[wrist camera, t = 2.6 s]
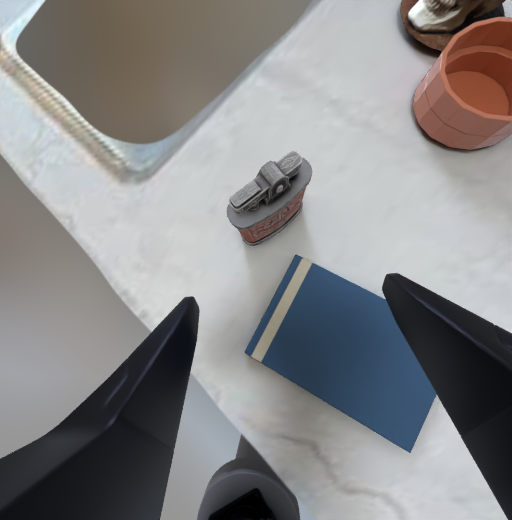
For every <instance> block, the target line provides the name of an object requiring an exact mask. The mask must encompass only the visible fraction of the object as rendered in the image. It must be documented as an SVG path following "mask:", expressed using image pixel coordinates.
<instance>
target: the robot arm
mask: <svg viewBox="0 0 512 520" xmlns="http://www.w3.org/2000/svg"><path fill="white" fill-rule="evenodd" d="M382 290H383V293H384V296H385V298H386V300H387V303H388V305H389V307H390V310H391V312H392V314H393V317H394V319H395V321H396V323H397V325H398V327H399V329H400V330H401V332H402V334H403V336H404V337H405V339H406V341H407V343H408V344H409V346H410V348H411V350H412V351H413V353H414V355H415V357H416V358H417V360H418V362H419V364H420V365H421V367H422V369H423V371H424V372H425V374H426V376H427V378H428V379H429V381H430V383H431V385H432V386H433V388H434V390H435V392H436V394H437V395H438V397H439V399H440V401H441V402H442V404H443V406H444V408H445V409H446V411H447V413H448V415H449V416H450V418H451V420H452V422H453V423H454V425H455V427H456V429H457V430H458V432H459V434H460V435H461V438H462V440H463V441H464V443H465V445H466V447H467V448H468V450H469V452H470V454H471V455H472V457H473V459H474V461H475V462H476V464H477V466H478V468H479V469H480V471H481V473H482V475H483V476H484V478H485V480H486V482H487V483H488V485H489V487H490V489H491V490H492V492H493V494H494V496H495V497H496V499H497V501H498V503H499V505H500V506H501V508H502V510H503V512H504V513H505V515H506V517H507V519H508V520H512V333H510V332H508V331H506V330H504V329H502V328H500V327H498V326H497V325H494V324H493V323H491V322H489V321H487V320H485V319H483V318H481V317H479V316H478V315H476V314H474V313H472V312H470V311H468V310H466V309H464V308H462V307H461V306H459V305H457V304H455V303H453V302H451V301H449V300H447V299H445V298H443V297H442V296H440V295H438V294H436V293H434V292H432V291H430V290H428V289H426V288H425V287H423V286H421V285H419V284H417V283H415V282H413V281H411V280H409V279H408V278H406V277H404V276H402V275H400V274H398V273H391V274H387V275H386V276H385V280H384V283H383V286H382ZM198 322H199V306H198V304H197V302H196V300H195V298H194V297H192V296H191V297H185V298H184V299H183V300H182V301H181V302H180V303H179V304H178V305H177V306H176V307H175V308H174V309H173V310H172V311H171V312H170V313H169V314H168V316H167V317H166V318H165V319H164V320H163V321H162V322H161V323H160V324H159V325H158V326H157V327H156V328H155V329H154V330H153V331H152V333H151V334H150V335H149V336H148V337H147V338H146V339H145V340H144V341H143V342H142V343H141V344H140V345H139V346H138V347H137V348H136V350H135V351H134V352H133V353H132V354H131V355H130V356H129V357H128V359H126V360H125V361H124V362H123V363H122V364H121V366H119V367H118V369H117V370H116V371H115V372H114V373H113V374H112V375H111V376H110V377H109V378H108V379H107V380H106V381H105V382H104V383H103V384H102V385H101V386H99V387H98V388H97V389H96V390H95V391H94V392H93V393H92V394H91V395H90V396H89V397H88V398H87V399H86V400H85V401H84V402H82V403H81V404H80V405H79V406H78V407H77V408H76V409H75V410H74V411H73V412H72V413H71V414H70V415H69V416H68V417H66V418H65V419H64V420H63V421H62V422H61V423H60V424H59V425H58V426H56V427H55V428H54V429H52V430H51V431H50V432H48V433H47V434H45V435H44V436H42V437H41V438H39V439H37V440H35V441H33V442H32V443H30V444H28V445H26V446H24V447H22V448H20V449H18V450H16V451H14V452H12V453H10V454H9V455H7V456H5V457H3V458H1V459H0V520H160V516H161V511H162V507H163V502H164V496H165V492H166V487H167V482H168V477H169V473H170V468H171V463H172V458H173V453H174V448H175V443H176V439H177V433H178V429H179V424H180V419H181V414H182V410H183V405H184V400H185V395H186V390H187V386H188V381H189V376H190V371H191V366H192V362H193V357H194V352H195V347H196V342H197V333H198ZM254 494H257V495H258V496H255V495H254ZM208 520H277V519H276V517H275V515H274V513H273V511H272V510H271V509H270V508H269V507H268V505H267V503H266V501H265V499H264V497H263V495H262V493H261V491H260V490H259V489H258V488H254V489H252V490H250V491H249V492H247V493H245V494H244V495H242V496H240V497H239V498H237V499H235V500H234V501H232V502H230V503H229V504H227V505H226V506H224V507H222V508H221V509H219V510H217V511H216V512H214V513H212V514H211V515H210V516H209V518H208Z"/></svg>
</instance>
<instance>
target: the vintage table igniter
mask: <svg viewBox="0 0 512 520" xmlns="http://www.w3.org/2000/svg"><path fill="white" fill-rule="evenodd" d="M311 176H312V168H311V165H310V164H309V162H308V161H307V160H305V159H304V158H302V157H301V156H300V155H299V154H298V153H297V152H295V151H291V152H290V153H288V154H287V155H285V156H284V157H283V158H281V159H280V160H279V161H277V162H272V161H270V162H268V163H266V164H265V165H264V166H263V167H262V168H261V169H260V171H259V173H258V174H257V176H256V178H255V179H253V180H252V181H251V182H250V183H248V184H247V185H246V186H244V187H243V188H242V189H240V190H239V191H238V192H236V193H235V194H234V195H232V196H231V197H230V199H229V205H228V207H227V217H228V219H229V220H230V222H231V223H232V225H234V226H235V227H236V228H237V229H238V230H239V232H240V233H241V237H242V239H243V240H244V241H245V242H246V243H247V244H248V245H251V246H255V245H258V244H260V243H262V242H264V241H266V240H268V239H270V238H271V237H273V236H274V235H276V234H277V233H279V232H280V231H282V230H283V229H284V228H285V227H286V226H287V225H288V224H290V223H291V222H292V221H293V219H294V218H295V217H296V216H297V215H298V214H299V213H300V211H301V209H302V199H303V196H304V192H305V189H306V186H307V185H308V184H309V182H310V180H311Z"/></svg>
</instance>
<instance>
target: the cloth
mask: <svg viewBox="0 0 512 520" xmlns="http://www.w3.org/2000/svg"><path fill="white" fill-rule="evenodd" d="M245 353H246V354H248V355H249V356H251V357H252V358H254V359H256V360H257V361H259V362H261V363H263V364H264V365H266V366H268V367H269V368H271V369H272V370H274V371H276V372H277V373H279V374H281V375H282V376H284V377H286V378H287V379H289V380H291V381H292V382H294V383H296V384H297V385H299V386H300V387H302V388H304V389H305V390H307V391H309V392H310V393H312V394H314V395H315V396H317V397H319V398H320V399H322V400H324V401H325V402H327V403H328V404H330V405H332V406H333V407H335V408H337V409H338V410H340V411H342V412H343V413H345V414H347V415H348V416H350V417H352V418H353V419H355V420H357V421H358V422H360V423H361V424H363V425H365V426H366V427H368V428H370V429H371V430H373V431H375V432H376V433H378V434H380V435H381V436H383V437H385V438H386V439H388V440H389V441H391V442H393V443H394V444H396V445H398V446H399V447H401V448H403V449H404V450H406V451H408V452H409V453H410V452H411V450H412V448H413V446H414V444H415V441H416V439H417V437H418V435H419V432H420V430H421V428H422V426H423V423H424V421H425V419H426V417H427V415H428V412H429V410H430V408H431V406H432V403H433V401H434V399H435V397H436V392H435V390H434V388H433V386H432V385H431V383H430V381H429V379H428V378H427V376H426V374H425V372H424V371H423V369H422V367H421V365H420V364H419V362H418V360H417V358H416V357H415V355H414V353H413V351H412V350H411V348H410V346H409V344H408V343H407V341H406V339H405V337H404V336H403V334H402V332H401V330H400V329H399V327H398V325H397V323H396V321H395V319H394V317H393V314H392V312H391V310H390V307H389V305H388V303H387V300H385V299H383V298H381V297H379V296H377V295H375V294H373V293H371V292H369V291H367V290H365V289H363V288H361V287H359V286H357V285H355V284H354V283H352V282H350V281H348V280H346V279H344V278H342V277H340V276H338V275H336V274H334V273H332V272H330V271H328V270H326V269H324V268H322V267H320V266H318V265H316V264H314V263H312V262H310V261H308V260H306V259H304V258H302V257H300V256H298V255H295V257H294V259H293V261H292V263H291V265H290V267H289V269H288V270H287V272H286V274H285V276H284V278H283V280H282V282H281V284H280V286H279V288H278V290H277V291H276V293H275V295H274V297H273V299H272V301H271V303H270V305H269V307H268V309H267V311H266V312H265V314H264V316H263V318H262V320H261V322H260V324H259V326H258V328H257V330H256V332H255V333H254V335H253V337H252V339H251V341H250V343H249V345H248V347H247V349H246V351H245Z"/></svg>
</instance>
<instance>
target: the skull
mask: <svg viewBox="0 0 512 520" xmlns="http://www.w3.org/2000/svg"><path fill="white" fill-rule="evenodd" d="M504 1H505V0H402V2H401V17H402V20H403V24H404V26H405V28H407V31H408V32H409V33H410V35H412V36H413V37H414V38H416V39H417V40H418V41H420V42H422V43H423V44H424V45H427V46H428V47H432V49H433V48H435V49H436V50H440V51H441V53H442V52H443V50H444V49H445V47H446V46H447V45H448V43H449V42H450V40H451V39H452V38H453V36H454V35H455V34H457V33H458V32H460V31H462V30H463V29H465V28H466V27H468V26H469V25H471V24H473V23H475V22H479V21H483V20H487V19H491V18H495V17H504V10H503V6H502V3H503V2H504Z"/></svg>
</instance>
